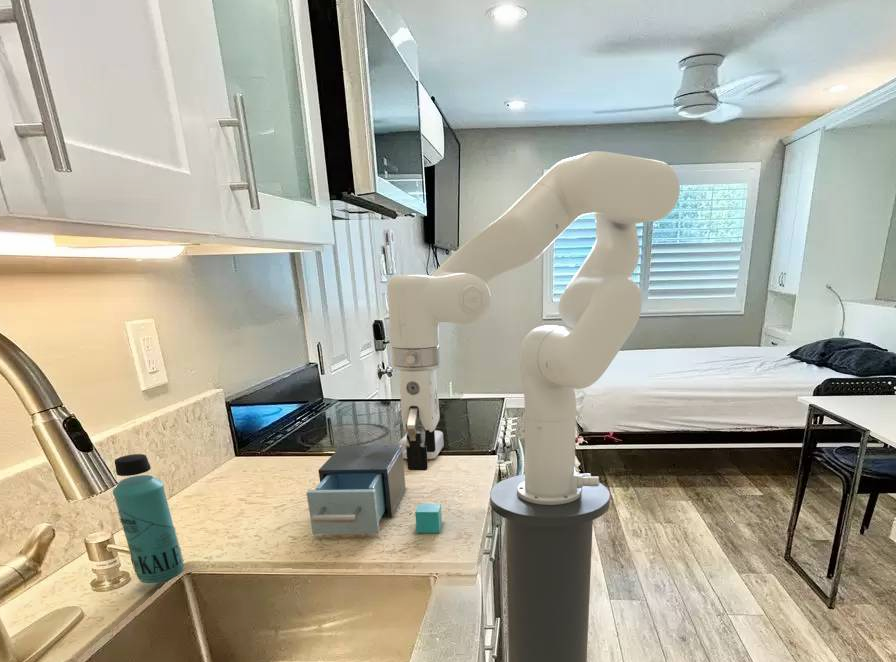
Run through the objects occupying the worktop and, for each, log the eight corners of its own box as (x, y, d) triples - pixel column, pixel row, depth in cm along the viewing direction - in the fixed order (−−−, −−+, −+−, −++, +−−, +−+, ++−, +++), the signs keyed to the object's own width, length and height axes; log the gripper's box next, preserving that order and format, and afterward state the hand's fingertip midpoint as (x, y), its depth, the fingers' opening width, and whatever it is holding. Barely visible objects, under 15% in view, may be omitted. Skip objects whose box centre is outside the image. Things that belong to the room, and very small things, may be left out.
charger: (392, 467, 133) (408, 447, 146) (430, 468, 132) (444, 448, 145) (390, 448, 131) (407, 430, 145) (429, 448, 130) (442, 430, 144)
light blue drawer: (371, 546, 93) (366, 503, 91) (303, 547, 94) (295, 504, 91) (393, 503, 110) (389, 465, 108) (335, 503, 111) (330, 465, 108)
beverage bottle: (158, 570, 90) (124, 449, 82) (197, 571, 89) (166, 449, 81) (128, 592, 84) (89, 463, 76) (170, 594, 83) (135, 464, 75)
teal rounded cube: (442, 523, 103) (440, 502, 102) (439, 532, 100) (438, 512, 98) (420, 523, 104) (418, 503, 102) (416, 533, 100) (415, 512, 98)
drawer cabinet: (392, 517, 106) (387, 469, 103) (325, 518, 107) (318, 470, 103) (405, 488, 120) (401, 445, 116) (346, 489, 120) (340, 446, 117)
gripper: (432, 366, 82) (438, 477, 89) (445, 350, 98) (449, 445, 105) (381, 366, 83) (390, 477, 89) (402, 350, 99) (409, 445, 105)
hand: (422, 460), depth 97 cm, fingers open, 9 cm apart
